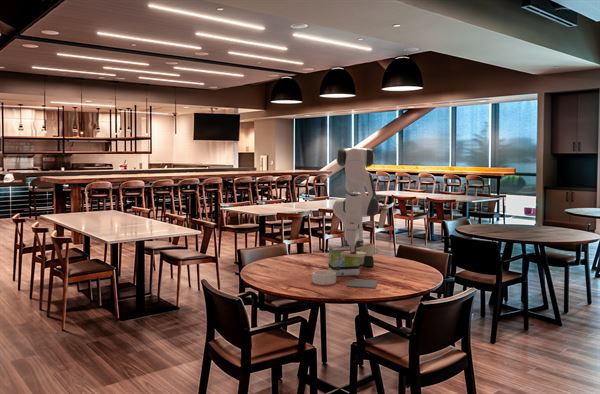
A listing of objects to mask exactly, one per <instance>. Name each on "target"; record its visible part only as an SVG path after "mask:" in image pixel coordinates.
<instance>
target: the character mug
mask: <svg viewBox="0 0 600 394" xmlns="http://www.w3.org/2000/svg"><path fill="white" fill-rule="evenodd" d="M361 249H363V251H361ZM360 252H365V253H366V256H365V257H364V263H363V264H362V265H363V266H365V267H373V266H375V261H374V256H375V255H376V254H379V247H376V244H374V243H364V244H363V247H360Z"/></svg>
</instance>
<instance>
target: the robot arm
mask: <svg viewBox="0 0 600 394" xmlns="http://www.w3.org/2000/svg"><path fill="white" fill-rule="evenodd" d="M375 160H376V156H375V153H374V150H373V149H372V148H368V147H367V148H365V147H350V148H349V147H348V148H345V147H342V148H339V149H338V150H337V153H336V156H335V161H336V162H337V165H338V166H340V167H344V171H345V186H344V187H345V189H346V192H347V193H346V195H345V198H342V199H337V200H335V201H334V202H333V204H332V211H333V212H332V213H333V214H334V216H336V217H337V218H338V219H339V220H340V222H341V223H342V225H343V230H344V240H343V247H347V246H350V247H351V252H354V251H355V248H354V247H355V245H356V246H357V248H358V249H360V247H363V244H365V241H364V228H363V218H368V217H375V216H376V215H378V213H379V211H380V203H379V199H378V197H377V192H376V189H375V183H374V179H373V176H372V174H371V173H370V172H368V170H367V168H369V167H371V166H372V165H374V163H375ZM365 187H366V189H365ZM366 191H367V193H366ZM361 251H363V249H361ZM364 257H365V256H364ZM364 257H360V265H363V263H364Z"/></svg>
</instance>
